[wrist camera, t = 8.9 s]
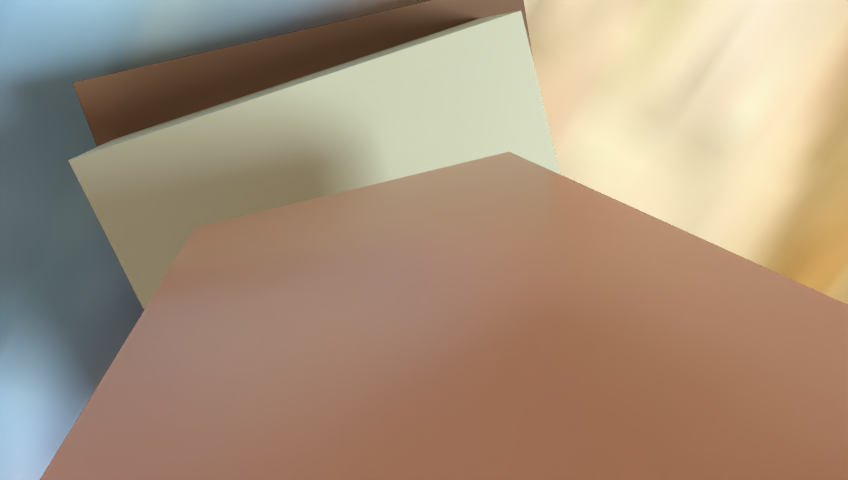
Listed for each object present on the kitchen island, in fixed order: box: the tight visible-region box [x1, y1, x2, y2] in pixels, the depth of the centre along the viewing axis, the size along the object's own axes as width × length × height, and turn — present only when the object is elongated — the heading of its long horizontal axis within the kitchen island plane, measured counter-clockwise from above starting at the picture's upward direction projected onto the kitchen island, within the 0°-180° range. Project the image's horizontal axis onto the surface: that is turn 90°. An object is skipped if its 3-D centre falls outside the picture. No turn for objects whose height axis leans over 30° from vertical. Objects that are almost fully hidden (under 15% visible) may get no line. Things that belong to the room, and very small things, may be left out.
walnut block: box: [73, 0, 533, 147], centre depth 24 cm, size 14×14×4 cm
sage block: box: [68, 10, 561, 310], centre depth 20 cm, size 12×12×4 cm
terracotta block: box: [40, 152, 848, 480], centre depth 10 cm, size 7×7×11 cm
